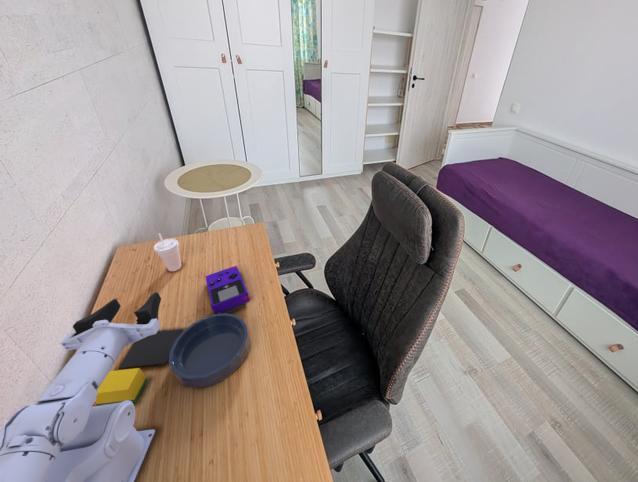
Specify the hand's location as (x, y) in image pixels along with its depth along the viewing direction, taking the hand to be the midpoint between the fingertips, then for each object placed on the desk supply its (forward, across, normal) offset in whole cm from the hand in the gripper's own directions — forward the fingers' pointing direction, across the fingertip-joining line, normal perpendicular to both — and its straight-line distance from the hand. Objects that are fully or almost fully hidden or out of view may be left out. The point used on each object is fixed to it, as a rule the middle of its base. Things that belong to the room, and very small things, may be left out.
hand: (137, 299), depth 58 cm
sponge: (-6, +8, +20) cm, 22 cm away
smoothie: (+33, +12, +17) cm, 39 cm away
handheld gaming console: (+19, -8, +20) cm, 29 cm away
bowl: (0, -9, +21) cm, 23 cm away
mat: (+4, +6, +19) cm, 21 cm away
